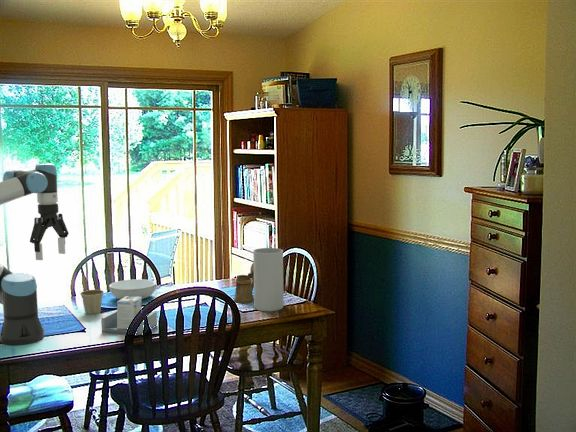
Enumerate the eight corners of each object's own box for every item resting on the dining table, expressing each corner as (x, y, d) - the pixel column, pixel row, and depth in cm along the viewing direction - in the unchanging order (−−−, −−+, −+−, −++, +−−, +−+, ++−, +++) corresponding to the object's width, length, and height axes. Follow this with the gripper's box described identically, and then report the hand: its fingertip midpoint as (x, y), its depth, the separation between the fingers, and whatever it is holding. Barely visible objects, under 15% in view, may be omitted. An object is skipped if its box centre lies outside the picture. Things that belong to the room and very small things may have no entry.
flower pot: (98, 316, 275) (97, 295, 273) (77, 314, 276) (76, 294, 275) (108, 309, 284) (107, 290, 283) (88, 308, 286) (87, 289, 284)
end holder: (141, 336, 247) (140, 320, 247) (101, 332, 252) (101, 317, 251) (157, 326, 260) (156, 311, 259) (119, 323, 264) (118, 308, 263)
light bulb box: (125, 323, 261) (125, 295, 260) (142, 323, 260) (142, 296, 260) (116, 328, 250) (116, 300, 250) (134, 329, 250) (134, 300, 249)
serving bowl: (166, 296, 306) (165, 281, 305) (134, 306, 288) (133, 291, 288) (132, 291, 317) (132, 276, 316) (99, 300, 299) (99, 285, 298)
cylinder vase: (288, 309, 283) (288, 251, 279) (263, 313, 276) (262, 254, 273) (274, 302, 293) (273, 246, 290) (249, 307, 287) (248, 249, 283)
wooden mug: (266, 299, 299) (265, 260, 296) (240, 304, 291) (239, 263, 289) (255, 295, 306) (255, 257, 304) (230, 300, 298) (229, 260, 296)
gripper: (34, 207, 247) (37, 263, 250) (75, 200, 271) (78, 251, 274) (17, 206, 250) (21, 262, 253) (60, 199, 273) (63, 250, 276)
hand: (50, 256), depth 263 cm, fingers open, 13 cm apart
